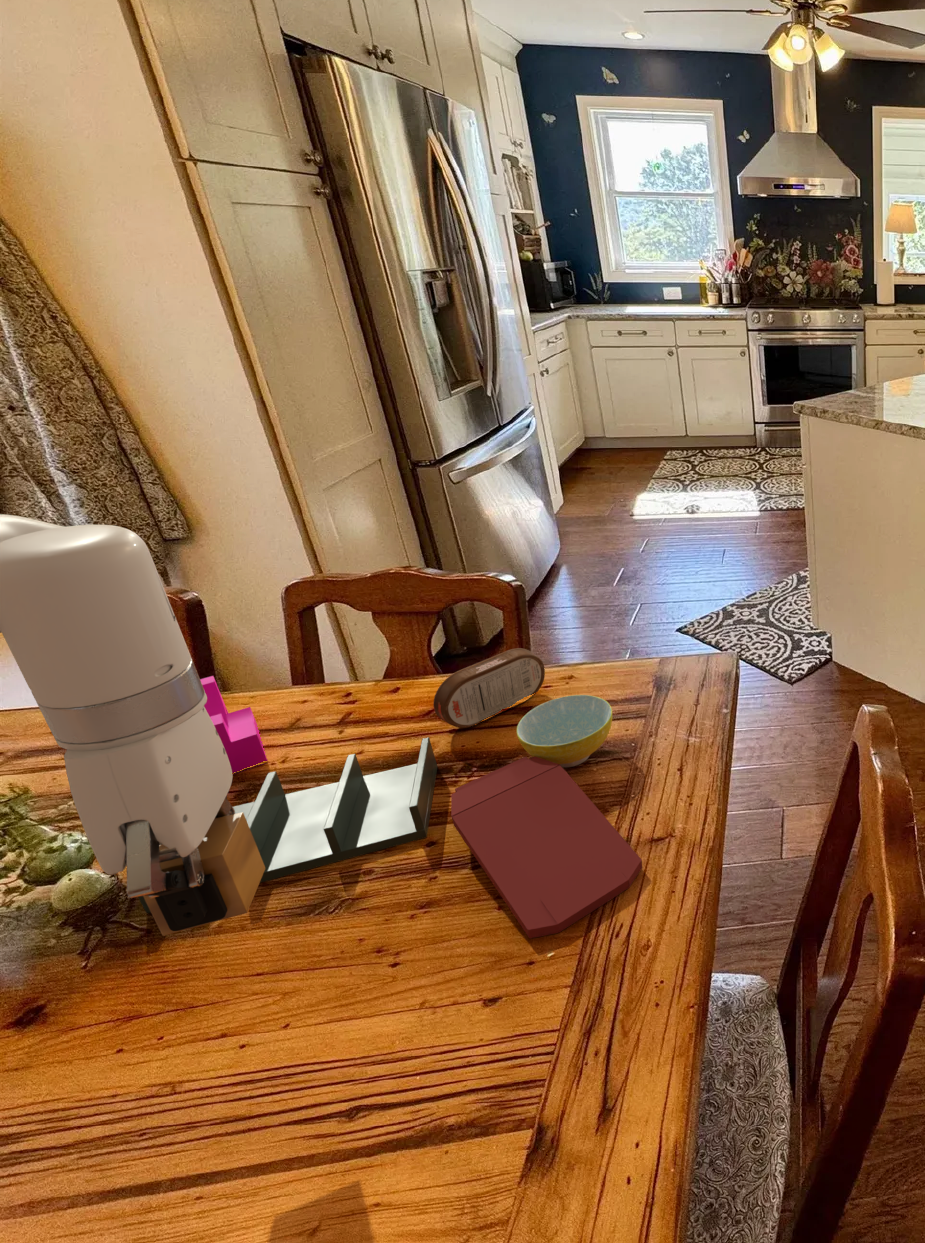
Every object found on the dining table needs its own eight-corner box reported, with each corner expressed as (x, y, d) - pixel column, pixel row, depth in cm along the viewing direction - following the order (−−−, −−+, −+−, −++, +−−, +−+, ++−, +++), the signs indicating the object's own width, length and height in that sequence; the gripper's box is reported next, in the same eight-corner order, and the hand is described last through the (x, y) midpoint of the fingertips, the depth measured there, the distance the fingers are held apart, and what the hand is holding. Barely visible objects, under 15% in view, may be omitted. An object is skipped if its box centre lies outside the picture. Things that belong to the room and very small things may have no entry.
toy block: (267, 762, 96) (249, 714, 93) (203, 784, 92) (181, 735, 89) (254, 713, 106) (237, 669, 103) (195, 732, 102) (176, 685, 99)
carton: (650, 896, 82) (545, 771, 95) (648, 867, 80) (541, 742, 93) (539, 969, 73) (441, 820, 87) (534, 939, 71) (434, 790, 84)
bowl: (587, 790, 92) (579, 750, 90) (505, 779, 94) (495, 739, 92) (634, 736, 103) (628, 699, 100) (559, 727, 105) (552, 690, 102)
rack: (146, 914, 74) (128, 879, 73) (196, 824, 86) (181, 792, 84) (426, 837, 85) (417, 805, 83) (437, 766, 96) (429, 736, 94)
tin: (540, 685, 114) (531, 637, 111) (552, 691, 113) (543, 643, 110) (439, 733, 103) (425, 682, 99) (451, 741, 101) (437, 689, 98)
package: (162, 936, 55) (132, 876, 53) (187, 888, 59) (160, 830, 57) (247, 913, 57) (222, 854, 55) (265, 868, 61) (243, 811, 59)
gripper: (111, 654, 57) (191, 836, 63) (-25, 791, 43) (98, 1006, 49) (236, 636, 60) (300, 811, 67) (148, 757, 46) (241, 963, 53)
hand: (213, 892), depth 58 cm, fingers closed on package, 5 cm apart
